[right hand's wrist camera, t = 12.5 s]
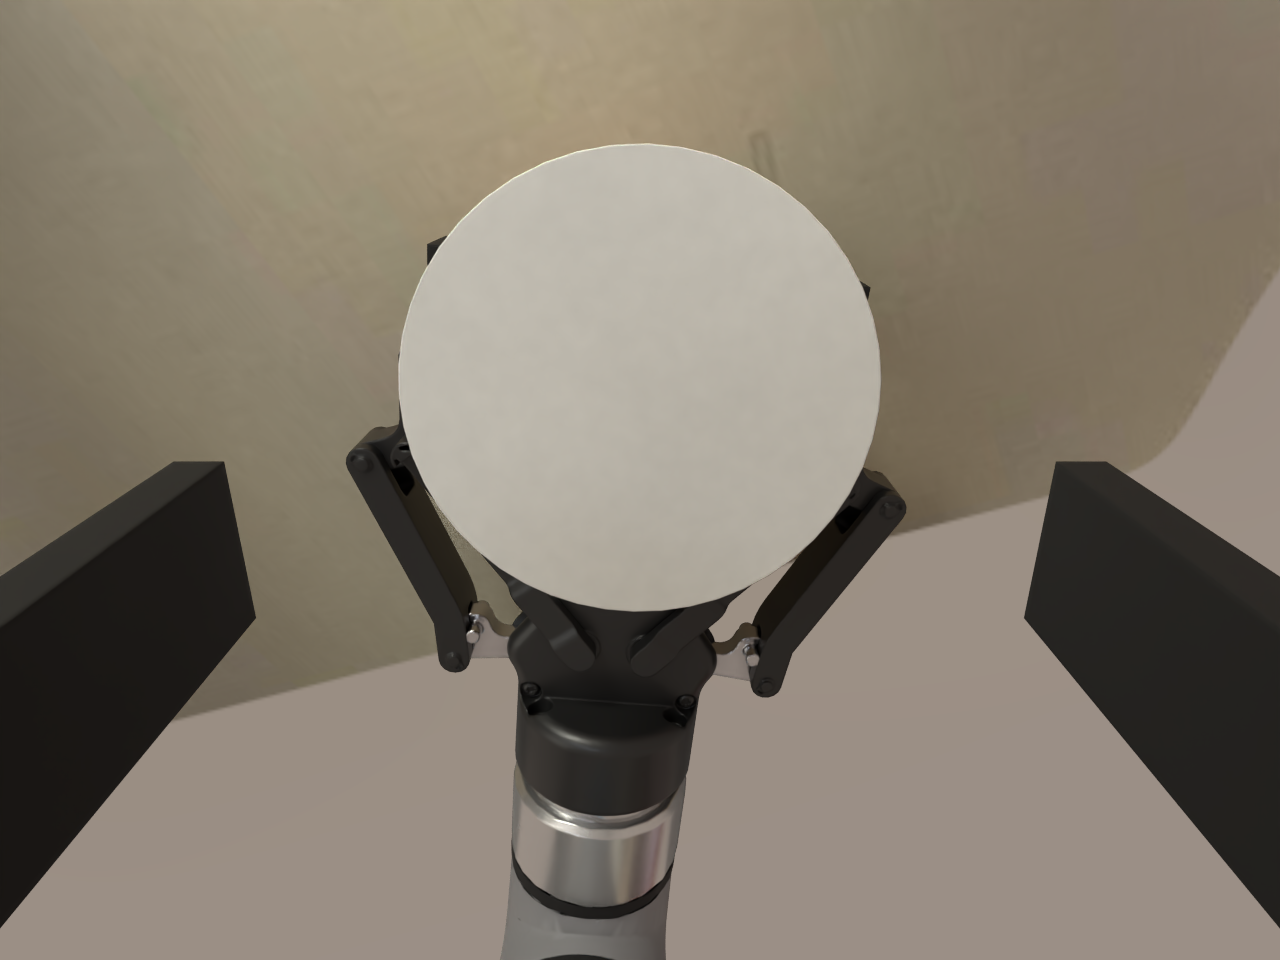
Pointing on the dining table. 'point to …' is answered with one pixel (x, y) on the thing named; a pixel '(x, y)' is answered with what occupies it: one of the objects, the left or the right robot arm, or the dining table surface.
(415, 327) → the lid
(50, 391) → the dining table surface
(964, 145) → the dining table surface
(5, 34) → the dining table surface
